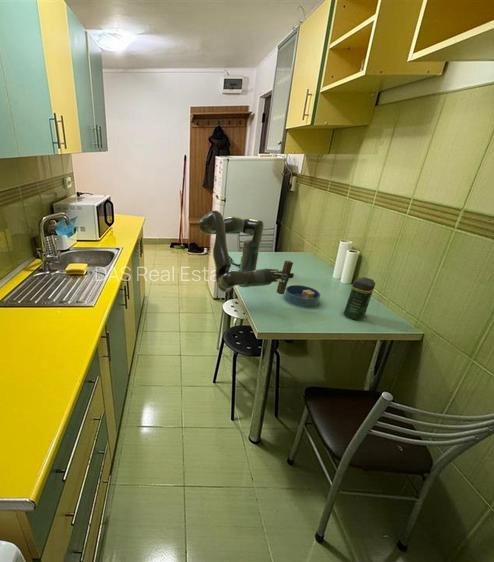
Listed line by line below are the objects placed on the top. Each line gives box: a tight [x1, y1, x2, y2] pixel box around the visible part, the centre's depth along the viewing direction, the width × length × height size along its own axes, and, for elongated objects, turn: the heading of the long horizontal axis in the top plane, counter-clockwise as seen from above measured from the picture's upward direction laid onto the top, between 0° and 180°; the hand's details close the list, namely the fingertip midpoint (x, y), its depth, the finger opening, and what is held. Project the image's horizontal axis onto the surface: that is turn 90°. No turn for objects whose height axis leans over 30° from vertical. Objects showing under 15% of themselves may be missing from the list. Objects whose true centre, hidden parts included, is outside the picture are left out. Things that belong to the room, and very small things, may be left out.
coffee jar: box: [343, 276, 376, 321], centre depth 138 cm, size 10×8×19 cm
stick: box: [275, 260, 294, 295], centre depth 143 cm, size 3×3×16 cm
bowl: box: [283, 284, 321, 308], centre depth 154 cm, size 16×16×5 cm
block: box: [302, 290, 315, 299], centre depth 155 cm, size 4×4×4 cm
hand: (290, 274), depth 143 cm, fingers closed on stick, 2 cm apart
